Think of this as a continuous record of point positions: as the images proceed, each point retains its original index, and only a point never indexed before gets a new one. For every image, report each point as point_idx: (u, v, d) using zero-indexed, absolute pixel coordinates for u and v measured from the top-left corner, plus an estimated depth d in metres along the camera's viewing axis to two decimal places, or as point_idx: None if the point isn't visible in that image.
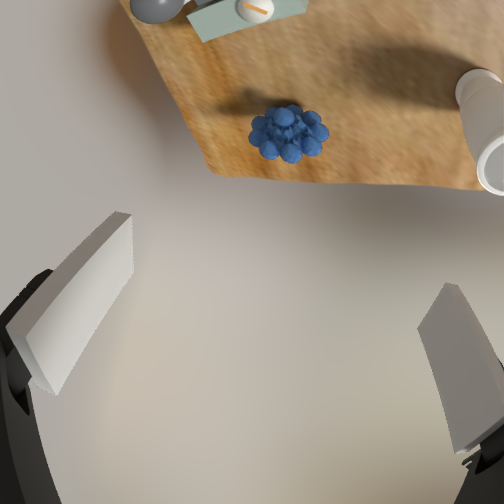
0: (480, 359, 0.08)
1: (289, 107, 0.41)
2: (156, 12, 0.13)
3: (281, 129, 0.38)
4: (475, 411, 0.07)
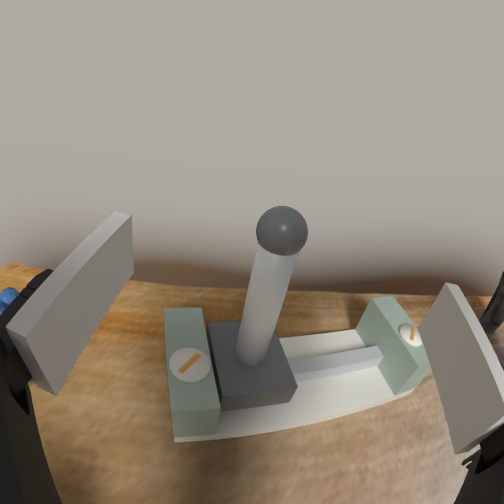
0: (480, 359, 0.08)
1: None
2: (280, 213, 0.20)
3: None
4: (475, 411, 0.07)
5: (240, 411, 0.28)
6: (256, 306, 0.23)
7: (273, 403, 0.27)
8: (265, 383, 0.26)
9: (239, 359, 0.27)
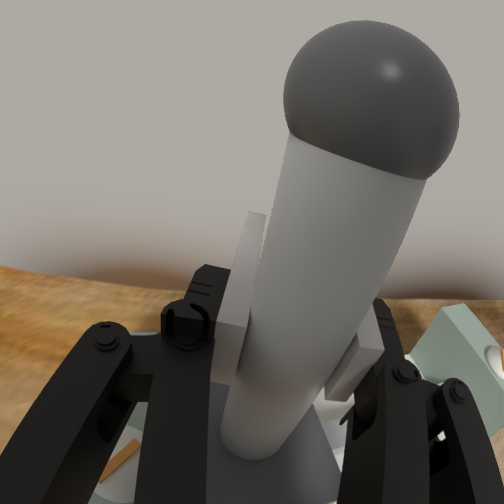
0: None
1: None
2: (374, 22, 0.04)
3: None
4: None
5: None
6: (277, 358, 0.07)
7: None
8: (286, 496, 0.10)
9: (229, 448, 0.11)
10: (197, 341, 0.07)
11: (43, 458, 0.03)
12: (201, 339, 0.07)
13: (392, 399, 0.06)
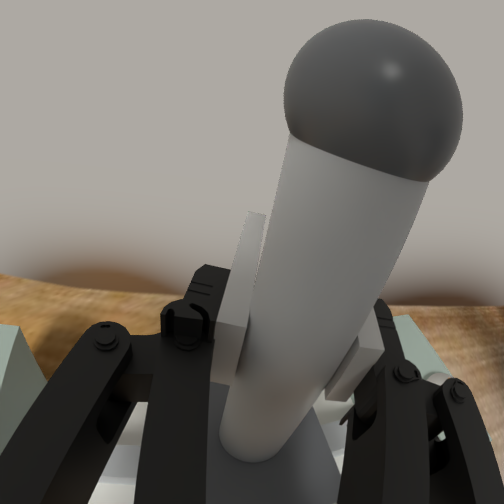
0: None
1: None
2: (377, 21, 0.04)
3: None
4: None
5: None
6: (276, 362, 0.07)
7: None
8: (286, 499, 0.10)
9: (229, 450, 0.11)
10: (197, 341, 0.07)
11: (43, 458, 0.03)
12: (201, 339, 0.07)
13: (392, 399, 0.06)
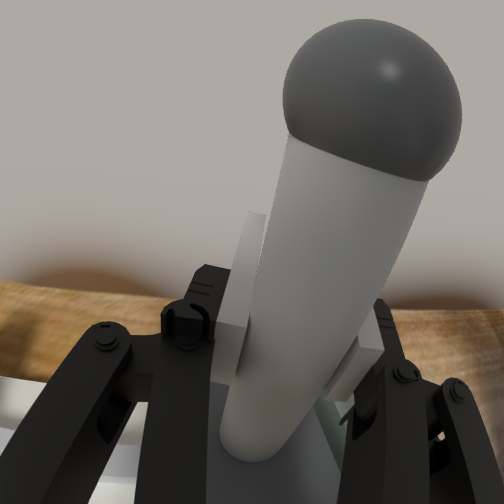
0: None
1: None
2: (375, 20, 0.04)
3: None
4: None
5: None
6: (276, 362, 0.07)
7: None
8: (285, 499, 0.10)
9: (229, 450, 0.11)
10: (197, 341, 0.07)
11: (43, 458, 0.03)
12: (201, 339, 0.07)
13: (392, 399, 0.06)
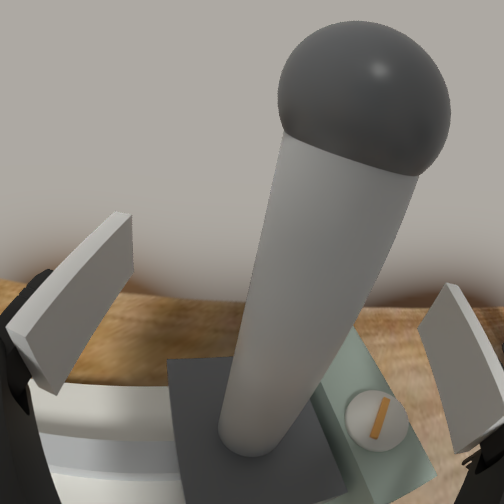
0: (480, 359, 0.08)
1: None
2: (366, 22, 0.04)
3: None
4: (475, 411, 0.07)
5: None
6: (273, 354, 0.07)
7: None
8: (284, 493, 0.10)
9: (227, 445, 0.11)
10: None
11: None
12: None
13: None
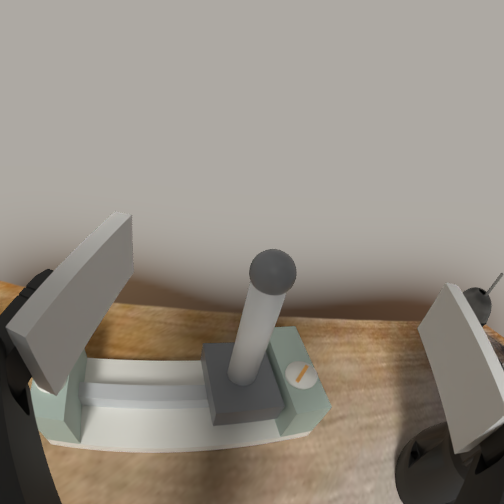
0: (480, 359, 0.08)
1: None
2: (271, 258, 0.22)
3: None
4: (475, 411, 0.07)
5: (107, 428, 0.26)
6: (248, 336, 0.25)
7: (262, 419, 0.29)
8: (255, 402, 0.28)
9: (231, 379, 0.29)
10: None
11: None
12: None
13: None
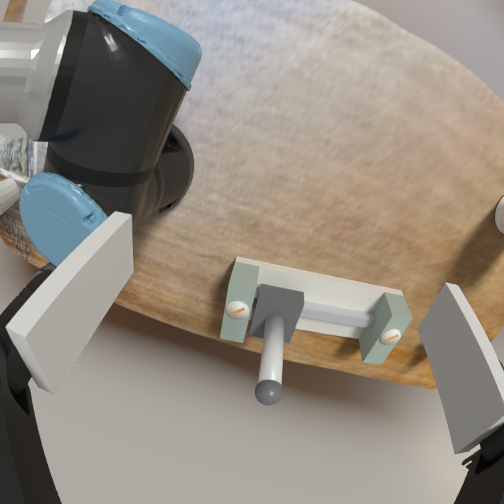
0: (480, 359, 0.08)
1: None
2: (273, 401, 0.35)
3: None
4: (475, 411, 0.07)
5: (363, 299, 0.50)
6: (281, 354, 0.41)
7: (271, 286, 0.48)
8: (276, 303, 0.46)
9: (283, 320, 0.47)
10: None
11: None
12: None
13: None
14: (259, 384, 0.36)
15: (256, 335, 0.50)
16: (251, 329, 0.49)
